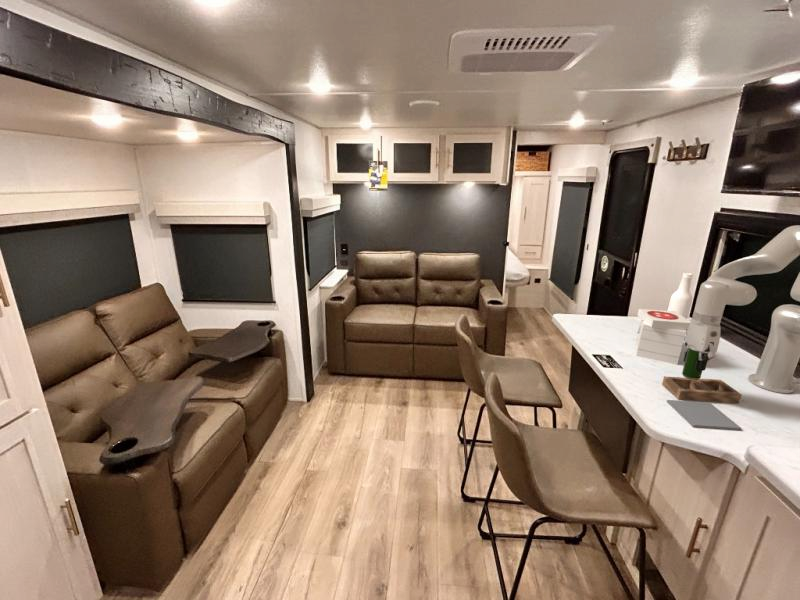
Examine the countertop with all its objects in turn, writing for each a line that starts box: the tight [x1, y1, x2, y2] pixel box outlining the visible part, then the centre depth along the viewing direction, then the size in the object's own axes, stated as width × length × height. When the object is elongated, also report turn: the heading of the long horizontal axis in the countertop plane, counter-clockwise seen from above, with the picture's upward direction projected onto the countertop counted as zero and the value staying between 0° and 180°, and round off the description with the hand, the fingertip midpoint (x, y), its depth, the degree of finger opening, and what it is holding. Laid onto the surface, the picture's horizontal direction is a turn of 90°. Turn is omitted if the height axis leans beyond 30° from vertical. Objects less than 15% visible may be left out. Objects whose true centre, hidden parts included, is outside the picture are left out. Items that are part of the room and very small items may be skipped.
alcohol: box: [666, 272, 694, 320], centre depth 190 cm, size 9×9×30 cm
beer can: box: [681, 344, 706, 380], centre depth 133 cm, size 5×5×12 cm
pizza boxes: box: [635, 308, 691, 365], centre depth 169 cm, size 19×30×18 cm, turn 148°
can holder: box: [661, 376, 743, 404], centre depth 135 cm, size 20×10×4 cm, turn 85°
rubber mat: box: [666, 399, 742, 431], centre depth 123 cm, size 14×14×1 cm
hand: (693, 365), depth 133 cm, fingers closed on beer can, 5 cm apart
